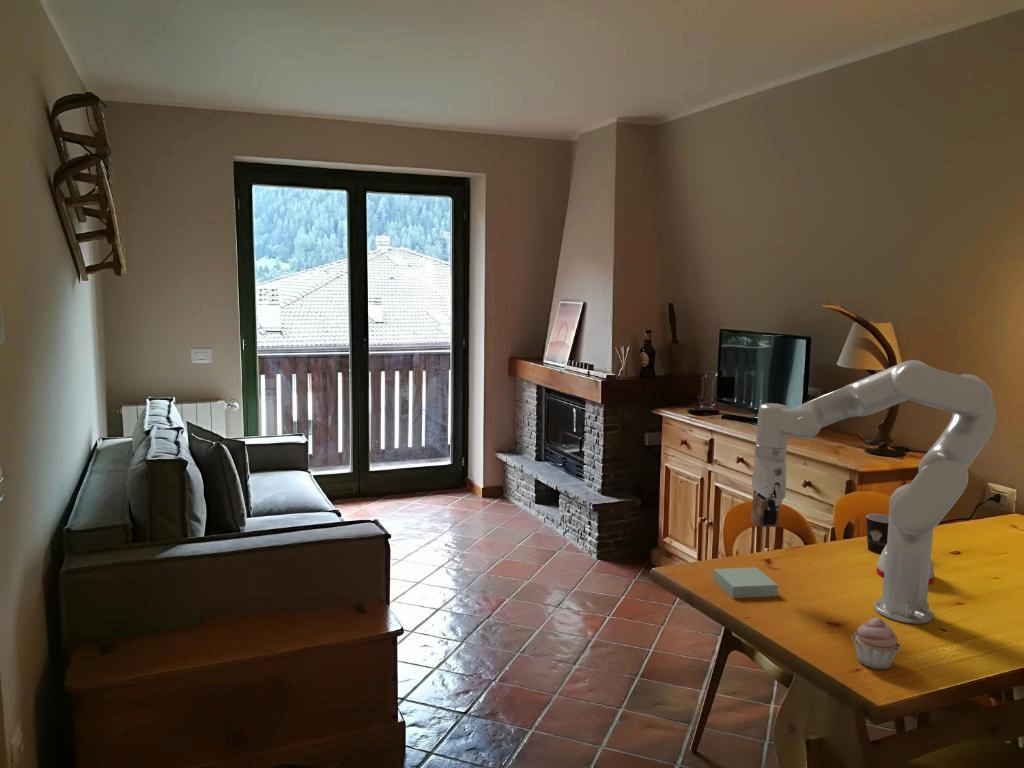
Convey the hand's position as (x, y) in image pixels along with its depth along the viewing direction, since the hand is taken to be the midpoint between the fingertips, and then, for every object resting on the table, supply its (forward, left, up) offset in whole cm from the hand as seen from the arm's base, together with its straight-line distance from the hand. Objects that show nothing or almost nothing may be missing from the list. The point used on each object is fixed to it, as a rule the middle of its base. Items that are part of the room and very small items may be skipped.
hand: (764, 520), depth 194 cm
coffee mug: (+22, -49, -18) cm, 57 cm away
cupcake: (-40, -6, -18) cm, 45 cm away
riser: (0, +4, -18) cm, 19 cm away
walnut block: (0, 0, -1) cm, 1 cm away
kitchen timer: (+4, -44, -18) cm, 48 cm away
